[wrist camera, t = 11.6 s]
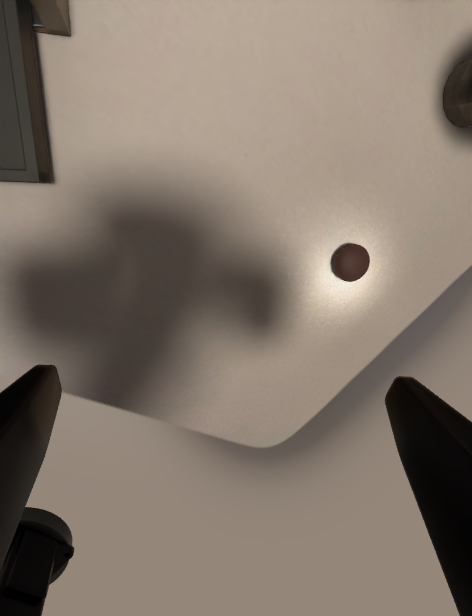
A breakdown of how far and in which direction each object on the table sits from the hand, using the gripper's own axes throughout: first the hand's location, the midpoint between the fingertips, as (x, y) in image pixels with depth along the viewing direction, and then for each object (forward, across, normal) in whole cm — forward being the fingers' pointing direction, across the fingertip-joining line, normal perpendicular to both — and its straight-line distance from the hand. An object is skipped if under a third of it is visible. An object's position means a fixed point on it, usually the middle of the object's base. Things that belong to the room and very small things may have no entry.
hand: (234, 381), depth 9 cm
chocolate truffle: (+19, -11, +6) cm, 22 cm away
